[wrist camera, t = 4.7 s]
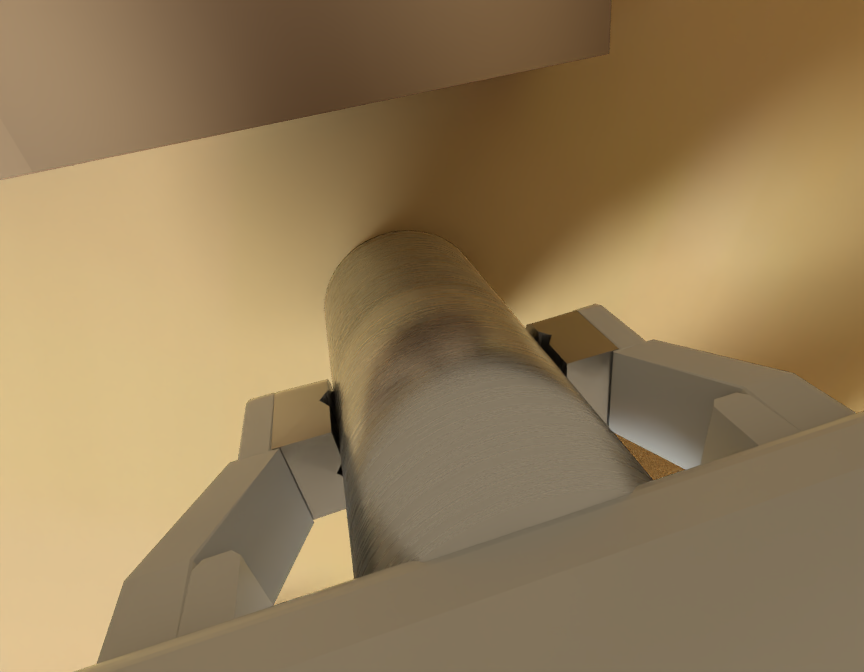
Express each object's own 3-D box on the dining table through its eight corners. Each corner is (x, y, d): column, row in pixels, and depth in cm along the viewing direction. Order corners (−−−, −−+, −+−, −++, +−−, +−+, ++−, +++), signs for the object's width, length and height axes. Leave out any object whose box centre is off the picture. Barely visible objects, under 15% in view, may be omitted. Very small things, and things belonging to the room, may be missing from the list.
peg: (469, 213, 11) (720, 442, 5) (485, 349, 13) (673, 640, 7) (303, 253, 11) (314, 574, 4) (347, 388, 13) (402, 743, 6)
